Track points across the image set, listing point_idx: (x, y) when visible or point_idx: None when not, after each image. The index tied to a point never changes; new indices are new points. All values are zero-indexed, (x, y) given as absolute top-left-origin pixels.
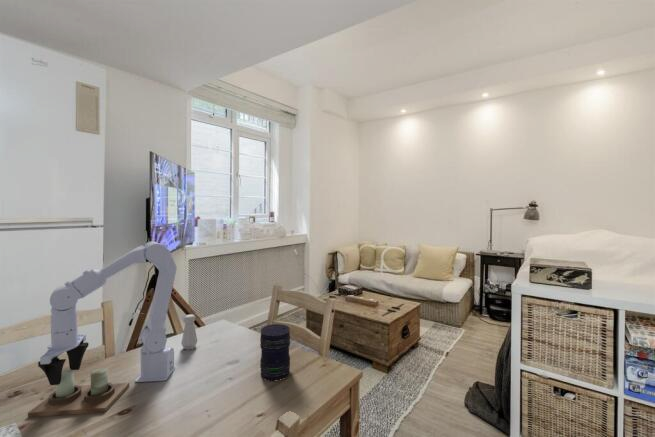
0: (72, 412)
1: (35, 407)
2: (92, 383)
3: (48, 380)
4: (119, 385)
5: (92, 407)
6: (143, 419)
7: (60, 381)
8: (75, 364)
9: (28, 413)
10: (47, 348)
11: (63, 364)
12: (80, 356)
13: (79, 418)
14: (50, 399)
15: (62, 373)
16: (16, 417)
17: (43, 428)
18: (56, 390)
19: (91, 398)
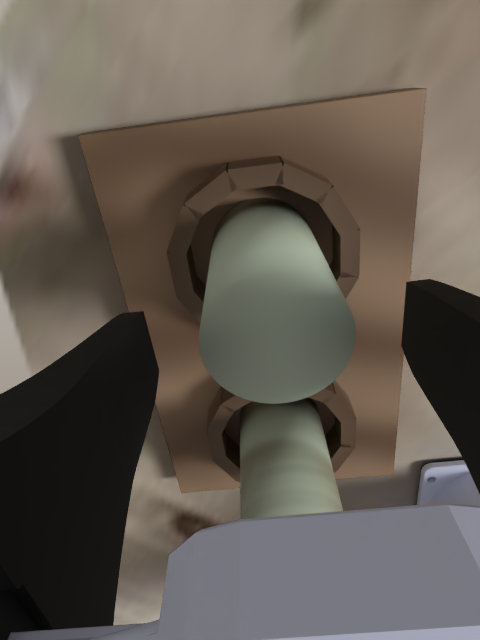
0: None
1: (140, 132)
2: (242, 487)
3: (96, 332)
4: (372, 448)
5: (177, 447)
6: (157, 585)
7: (153, 388)
8: (429, 358)
9: (80, 140)
10: (195, 549)
11: (112, 580)
12: (471, 472)
13: None
14: (174, 230)
15: (274, 323)
16: (71, 37)
17: (33, 315)
18: (213, 257)
19: (209, 443)
